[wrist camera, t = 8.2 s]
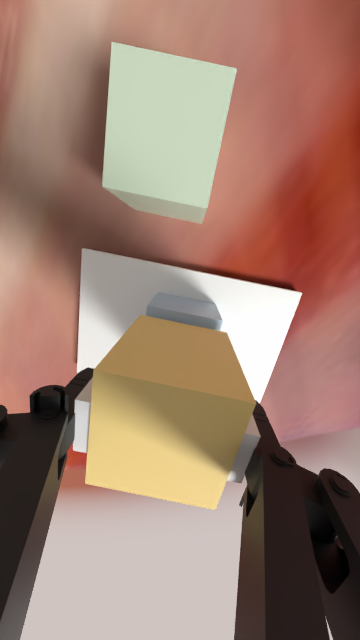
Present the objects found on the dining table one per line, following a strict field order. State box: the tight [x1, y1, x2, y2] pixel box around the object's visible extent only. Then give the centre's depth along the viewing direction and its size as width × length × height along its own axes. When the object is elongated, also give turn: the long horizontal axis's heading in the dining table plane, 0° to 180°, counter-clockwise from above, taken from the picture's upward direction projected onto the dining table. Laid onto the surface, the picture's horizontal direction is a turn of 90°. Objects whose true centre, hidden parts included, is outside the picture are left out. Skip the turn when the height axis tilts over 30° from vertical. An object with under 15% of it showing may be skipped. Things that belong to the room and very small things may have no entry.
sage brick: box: [102, 42, 237, 224], centre depth 14 cm, size 6×6×7 cm
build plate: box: [77, 248, 302, 404], centre depth 19 cm, size 13×20×6 cm, turn 79°
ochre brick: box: [85, 315, 256, 510], centre depth 12 cm, size 6×6×7 cm
